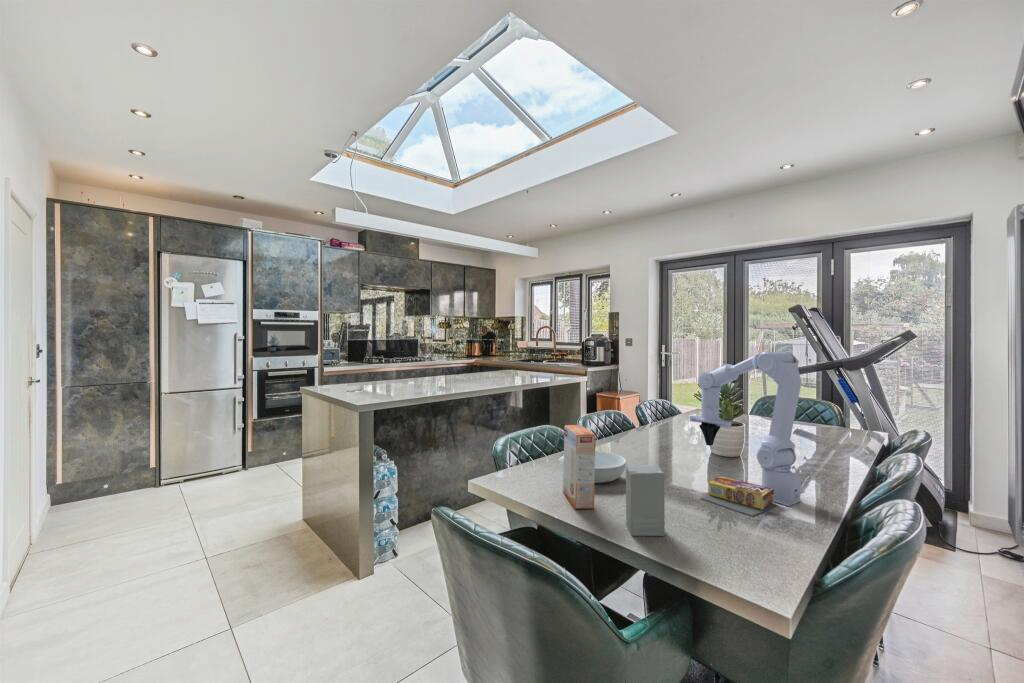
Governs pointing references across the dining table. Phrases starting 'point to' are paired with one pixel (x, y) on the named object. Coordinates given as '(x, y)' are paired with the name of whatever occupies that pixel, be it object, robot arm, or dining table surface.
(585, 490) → the cracker box
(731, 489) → the candy box
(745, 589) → the dining table surface
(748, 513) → the mat
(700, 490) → the dining table surface
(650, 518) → the skincare box
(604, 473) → the serving bowl
